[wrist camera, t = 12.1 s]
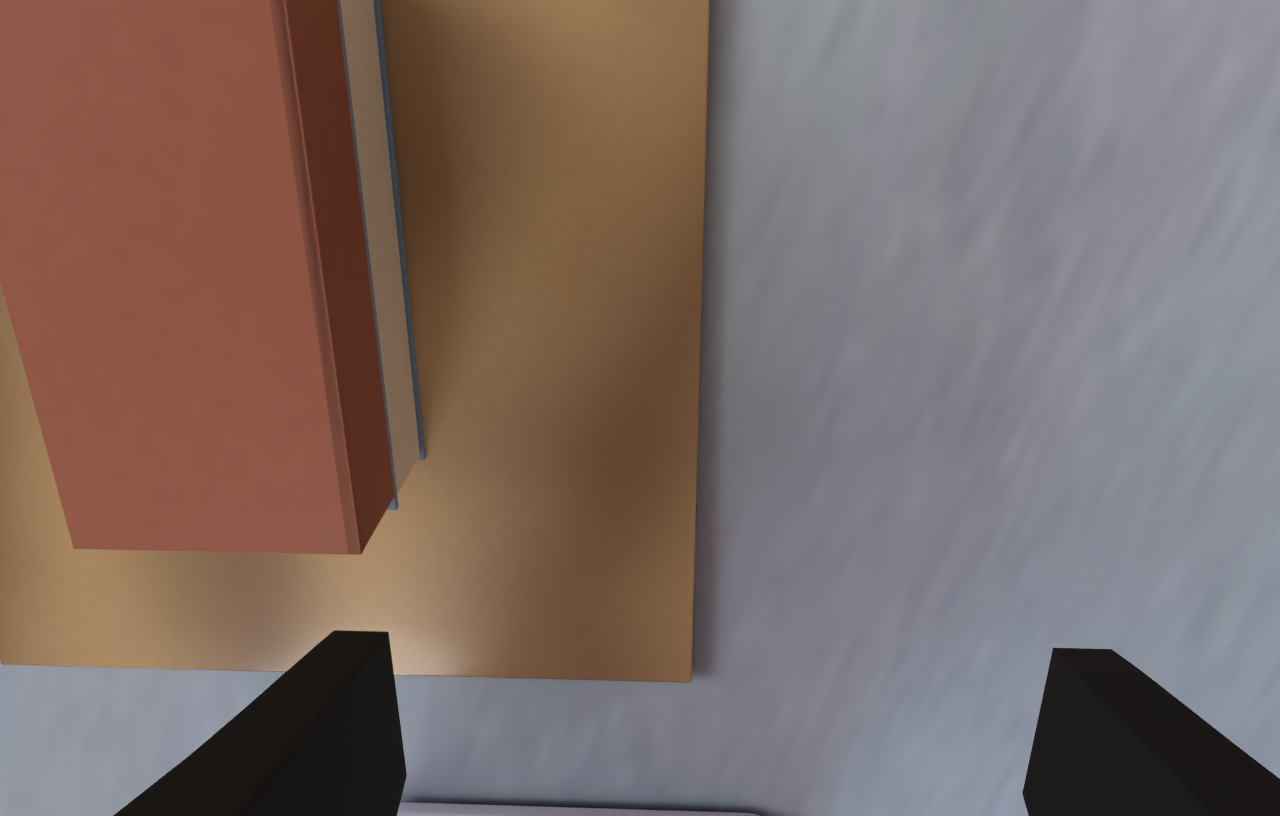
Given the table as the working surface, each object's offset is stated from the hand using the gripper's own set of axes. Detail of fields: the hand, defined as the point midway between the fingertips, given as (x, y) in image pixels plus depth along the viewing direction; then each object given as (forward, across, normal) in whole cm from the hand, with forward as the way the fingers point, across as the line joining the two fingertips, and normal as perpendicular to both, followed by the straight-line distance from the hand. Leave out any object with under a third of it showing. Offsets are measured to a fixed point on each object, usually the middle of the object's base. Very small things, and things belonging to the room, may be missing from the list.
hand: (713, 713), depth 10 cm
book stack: (+9, +8, -3) cm, 12 cm away
